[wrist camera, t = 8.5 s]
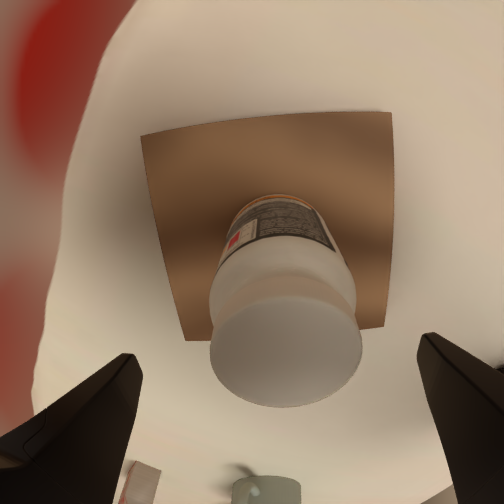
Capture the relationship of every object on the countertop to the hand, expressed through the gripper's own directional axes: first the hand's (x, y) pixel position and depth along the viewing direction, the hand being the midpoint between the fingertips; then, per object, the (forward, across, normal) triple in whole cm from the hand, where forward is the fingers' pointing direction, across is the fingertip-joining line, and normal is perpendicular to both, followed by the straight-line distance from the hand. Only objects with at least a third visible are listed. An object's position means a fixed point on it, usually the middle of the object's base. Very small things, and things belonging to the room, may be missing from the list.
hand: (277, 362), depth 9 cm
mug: (+11, +4, +34) cm, 36 cm away
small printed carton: (+12, +21, +34) cm, 42 cm away
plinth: (+11, 0, 0) cm, 11 cm away
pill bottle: (+10, 0, 0) cm, 10 cm away
